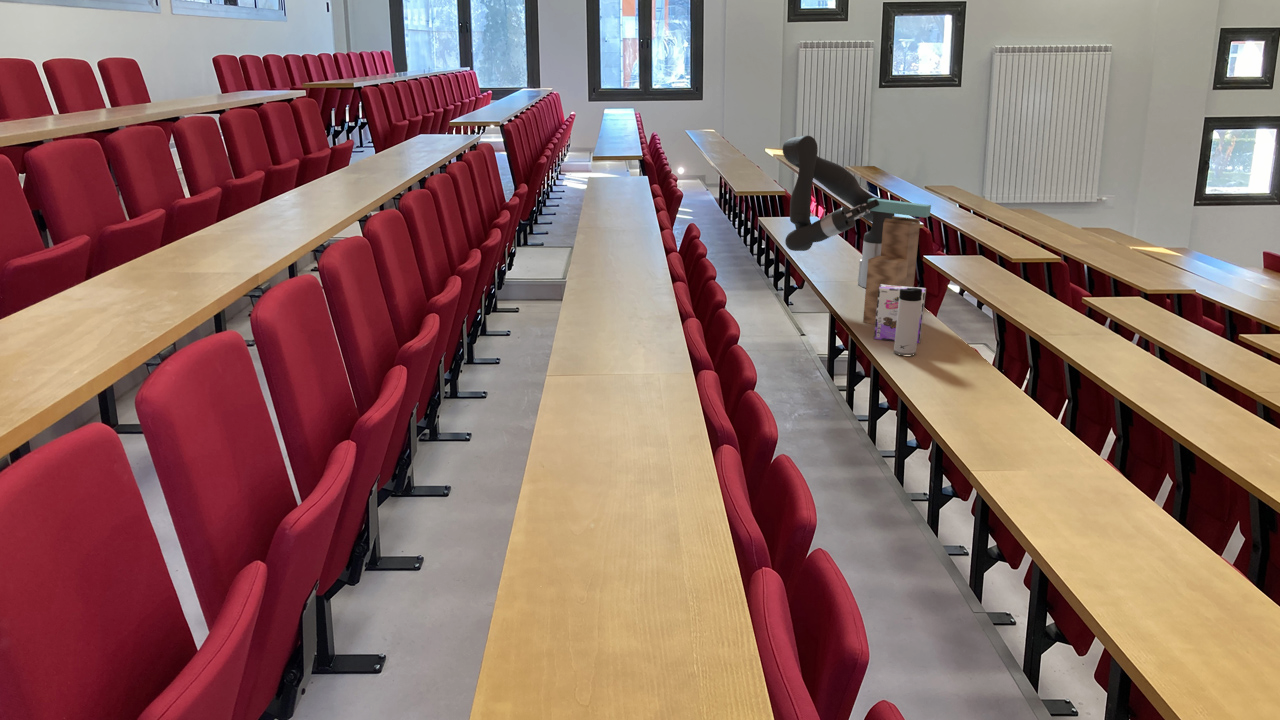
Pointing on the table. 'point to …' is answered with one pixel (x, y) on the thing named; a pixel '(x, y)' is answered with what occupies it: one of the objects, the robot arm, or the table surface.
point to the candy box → (892, 312)
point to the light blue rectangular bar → (902, 208)
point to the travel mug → (907, 321)
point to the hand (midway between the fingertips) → (880, 201)
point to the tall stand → (901, 242)
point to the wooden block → (882, 281)
